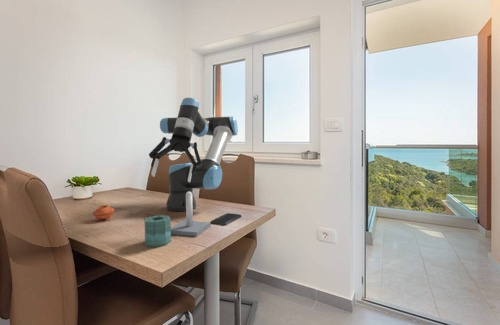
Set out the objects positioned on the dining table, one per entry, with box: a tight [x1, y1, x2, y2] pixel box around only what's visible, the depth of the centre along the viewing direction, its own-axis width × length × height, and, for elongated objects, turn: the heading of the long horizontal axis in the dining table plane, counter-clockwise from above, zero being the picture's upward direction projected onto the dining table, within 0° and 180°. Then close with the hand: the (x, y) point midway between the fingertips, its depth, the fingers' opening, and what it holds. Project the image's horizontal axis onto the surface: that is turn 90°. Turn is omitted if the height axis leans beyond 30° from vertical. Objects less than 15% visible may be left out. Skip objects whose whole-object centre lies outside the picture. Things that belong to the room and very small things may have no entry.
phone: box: [209, 212, 242, 226], centre depth 108 cm, size 8×1×15 cm
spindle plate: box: [171, 192, 212, 237], centre depth 94 cm, size 12×12×15 cm
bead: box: [144, 214, 172, 248], centre depth 82 cm, size 8×8×8 cm
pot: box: [93, 204, 115, 222], centre depth 108 cm, size 8×8×7 cm
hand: (170, 178), depth 94 cm, fingers open, 13 cm apart
